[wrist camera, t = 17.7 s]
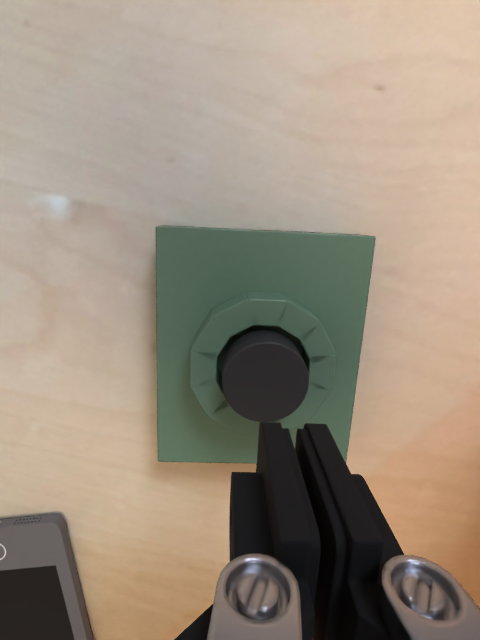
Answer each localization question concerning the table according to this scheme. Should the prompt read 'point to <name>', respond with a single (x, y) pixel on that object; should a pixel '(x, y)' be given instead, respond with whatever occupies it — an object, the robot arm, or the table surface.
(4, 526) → the smartphone
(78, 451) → the table surface
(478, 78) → the table surface
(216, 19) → the table surface
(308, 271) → the control block
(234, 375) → the button
